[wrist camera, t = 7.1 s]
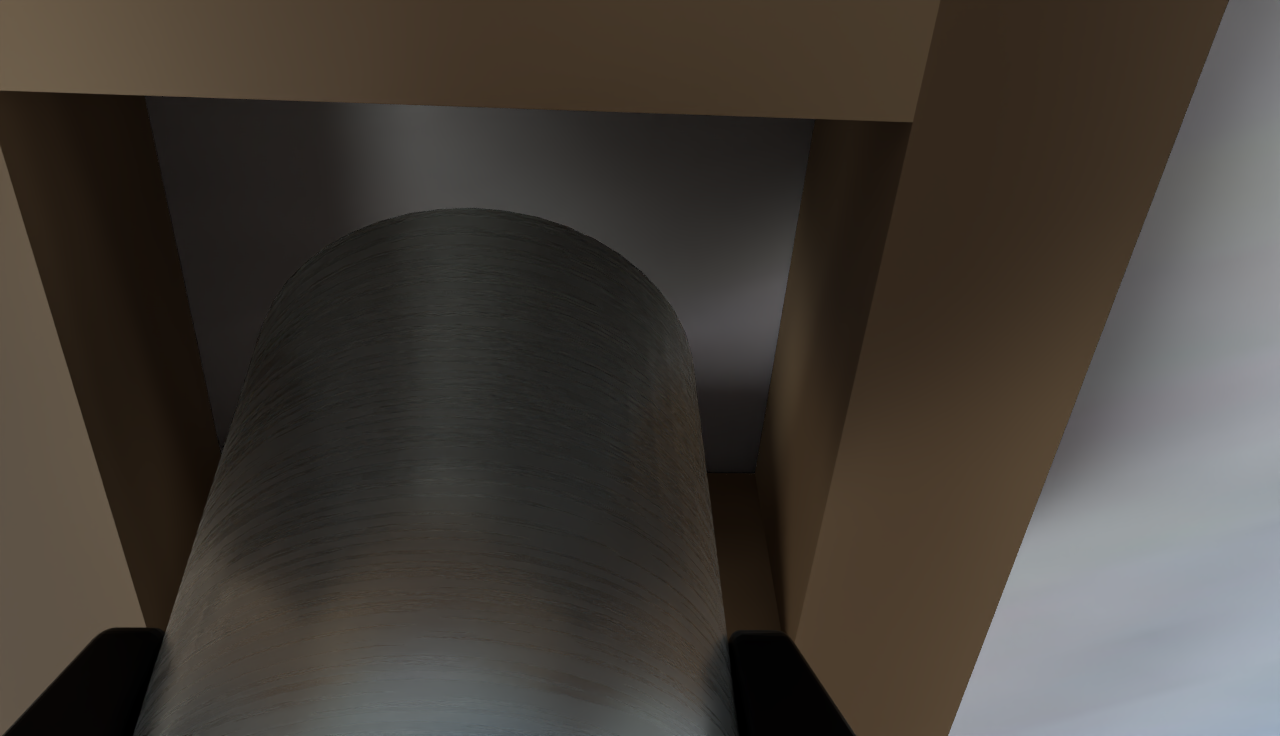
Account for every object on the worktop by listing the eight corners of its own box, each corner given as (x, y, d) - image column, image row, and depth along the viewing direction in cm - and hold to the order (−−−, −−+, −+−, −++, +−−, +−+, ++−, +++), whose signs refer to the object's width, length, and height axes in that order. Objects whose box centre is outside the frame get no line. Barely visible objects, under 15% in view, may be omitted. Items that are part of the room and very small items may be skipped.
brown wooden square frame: (1122, -264, 10) (1285, -152, 8) (881, 580, 17) (932, 776, 14) (-219, -343, 9) (-478, -245, 7) (89, 575, 16) (8, 782, 14)
